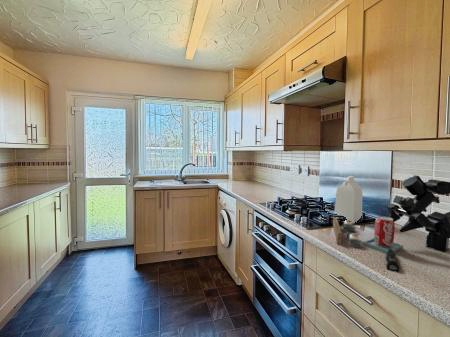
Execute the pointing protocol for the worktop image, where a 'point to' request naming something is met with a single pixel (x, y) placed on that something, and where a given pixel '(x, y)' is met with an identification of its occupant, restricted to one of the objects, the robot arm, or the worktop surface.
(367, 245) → the tray
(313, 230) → the worktop surface
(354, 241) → the clip rack
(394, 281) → the worktop surface
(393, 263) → the electric trimmer
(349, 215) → the milk
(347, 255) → the worktop surface
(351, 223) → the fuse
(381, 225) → the soda can
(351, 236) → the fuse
